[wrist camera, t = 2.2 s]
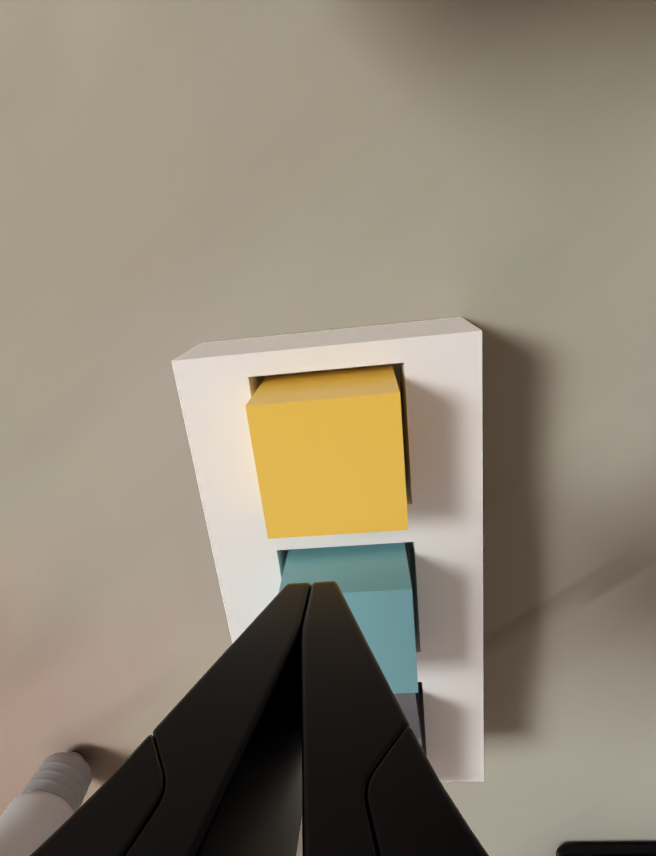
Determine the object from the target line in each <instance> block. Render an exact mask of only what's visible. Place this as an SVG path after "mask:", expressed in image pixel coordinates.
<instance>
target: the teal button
mask: <svg viewBox="0 0 656 856" xmlns="http://www.w3.org/2000/svg"><path fill="white" fill-rule="evenodd" d="M324 581H335V582H336V583H337V584H338V586H339V588H340V590H341V592H342V594H343V596H344V598H345V600H346V602H347V604H348V606H349V608H350V610H351V611H352V613H353V615H354V617H355V619H356V621H357V623H358V625H359V627H360V629H361V631H362V633H363V635H364V637H365V639H366V641H367V643H368V645H369V647H370V649H371V651H372V652H373V654H374V656H375V658H376V660H377V662H378V664H379V666H380V668H381V670H382V672H383V674H384V676H385V678H386V680H387V682H388V684H389V686H390V688H391V690H392V691H393V693H394V694H399V693H418V678H417V661H416V645H415V628H414V612H413V596H412V585H411V579H410V573H409V567H408V561H407V555H406V548H405V542H403V543H387V544H371V545H355V546H338V547H322V548H306V549H290V550H288V554H287V558H286V562H285V567H284V571H283V576H282V580H281V584H280V589H279V592H280V591H281V590H282V589H283V588H284V587H285V586H286V585H287V584H290V583H306V582H307V583H310V584H311V586H312V584H313V583H314V582H324Z"/></svg>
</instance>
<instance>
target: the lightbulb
mask: <svg viewBox="0 0 656 856" xmlns="http://www.w3.org/2000/svg"><path fill="white" fill-rule="evenodd" d="M91 780H92V773H91V768H90V766H89V765H88V763H87V762H86V761H85V760H84V758H83V756H82V755H80V754H79V753H76V752H68V753H56V754H53V755H51V756H49V757H47V758H46V759H45V760H44V762H43V763H42V764H41V765H40V767H39V768H38V770H37V772H36V773H35V774H34V776H33V777H32V779H31V781H30V782H29V783H28V784H27V786H26V788H25V790H24V791H23V793H22V794H21V795H19V796H17V797H16V798H14V799H13V800H12V801H11V802H10V804H9V805H8V806H7V808H6V809H5V811H4V812H3V814H2V815H1V816H0V856H30V855H31V854H32V853H33V852H34V851H35V850H36V849H37V848H38V847H39V846H40V845H41V844H42V843H43V842H45V841H46V840H47V839H48V838H49V837H50V836H51V835H52V834H53V833H54V832H55V831H56V830H57V829H58V828H59V827H60V826H61V825H62V824H63V823H64V822H65V821H66V820H68V819H69V818H70V817H71V816H72V815H73V814H74V813H75V812H76V811H77V810H78V809H79V807H80V805H81V804H82V802H83V799H84V796H85V795H86V793H87V790H88V787H89V784H90V782H91Z"/></svg>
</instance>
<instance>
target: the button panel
mask: <svg viewBox="0 0 656 856" xmlns="http://www.w3.org/2000/svg"><path fill="white" fill-rule="evenodd" d="M171 362H172V367H173V371H174V376H175V380H176V385H177V390H178V394H179V399H180V404H181V408H182V413H183V417H184V422H185V427H186V431H187V436H188V441H189V445H190V450H191V454H192V459H193V464H194V468H195V473H196V478H197V482H198V487H199V491H200V496H201V501H202V505H203V510H204V515H205V519H206V524H207V528H208V533H209V538H210V542H211V547H212V552H213V556H214V561H215V565H216V570H217V575H218V579H219V584H220V589H221V593H222V598H223V603H224V607H225V612H226V616H227V621H228V626H229V630H230V635H231V640H232V644H233V643H234V642H235V640H236V639H237V638H238V637H239V636H240V635H241V634H242V633H243V632H244V631H245V629H246V628H247V627H248V626H249V625H250V624H251V623H252V622H253V621H254V620H255V618H256V617H257V616H258V615H259V614H260V613H261V612H262V611H263V610H264V609H265V607H266V606H267V605H268V604H269V603H270V602H271V601H272V600H273V599H274V598H275V596H276V595H277V594H278V593H279V589H280V584H281V580H282V576H283V571H284V567H285V562H286V558H287V554H288V550H290V549H306V548H322V547H338V546H355V545H371V544H387V543H403V542H405V548H406V555H407V561H408V567H409V573H410V579H411V585H412V596H413V612H414V628H415V645H416V661H417V678H418V693H415V695H416V702H417V710H418V718H419V725H420V733H421V743H422V749H423V751H424V753H425V755H426V757H427V758H428V760H429V762H430V764H431V766H432V767H433V769H434V771H435V773H436V775H437V776H438V778H439V780H440V782H475V781H484V720H483V437H482V330H480V329H479V328H477V327H476V326H474V325H473V324H471V323H470V322H468V321H467V320H465V319H464V318H462V317H453V318H443V319H433V320H423V321H413V322H403V323H393V324H383V325H373V326H363V327H353V328H343V329H333V330H323V331H313V332H303V333H294V334H284V335H274V336H264V337H254V338H244V339H234V340H224V341H214V342H204V343H200V344H198V345H197V346H195V347H193V348H192V349H190V350H188V351H187V352H185V353H183V354H182V355H180V356H179V357H177V358H175V359H174V360H172V361H171ZM382 365H392V367H393V370H394V374H395V377H396V380H397V384H398V387H399V390H400V399H401V415H402V432H403V448H404V465H405V481H406V497H407V514H408V530H399V531H383V532H367V533H352V534H336V535H320V536H305V537H289V538H273V539H268V536H267V530H266V525H265V519H264V513H263V507H262V501H261V495H260V489H259V484H258V478H257V472H256V466H255V460H254V454H253V448H252V443H251V437H250V431H249V425H248V419H247V413H246V407H245V406H246V404H247V403H248V401H249V400H250V399H251V397H252V396H253V394H254V393H255V392H256V390H257V389H258V387H259V386H260V385H261V383H262V382H263V380H264V379H265V377H266V376H274V375H285V374H296V373H306V372H317V371H328V370H339V369H349V368H360V367H371V366H382Z"/></svg>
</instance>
